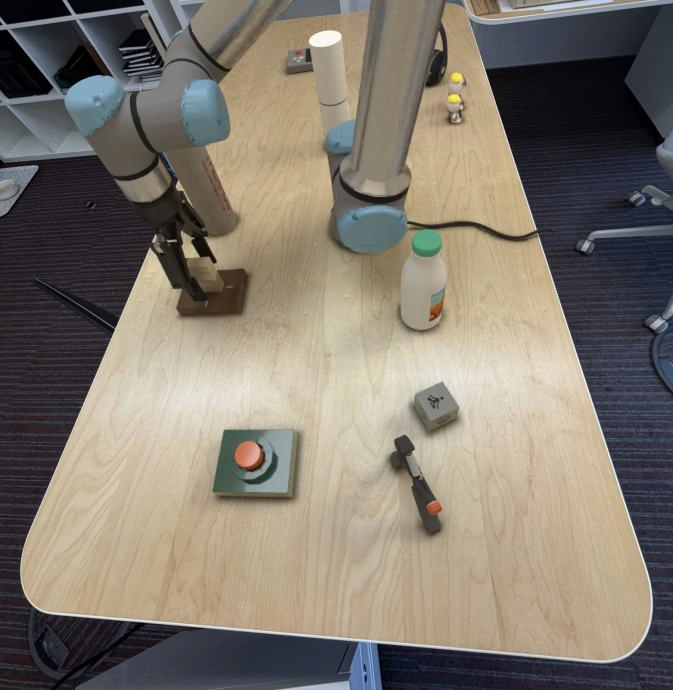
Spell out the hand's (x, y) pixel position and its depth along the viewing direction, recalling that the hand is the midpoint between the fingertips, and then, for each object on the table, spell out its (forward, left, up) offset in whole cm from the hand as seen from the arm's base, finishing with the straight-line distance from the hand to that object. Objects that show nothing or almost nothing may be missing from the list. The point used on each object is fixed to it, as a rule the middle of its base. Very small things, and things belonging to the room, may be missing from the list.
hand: (205, 280), depth 84 cm
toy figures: (-56, -59, -5) cm, 82 cm away
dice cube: (-44, +27, -5) cm, 52 cm away
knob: (0, 0, -2) cm, 2 cm away
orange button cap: (-15, +36, 0) cm, 39 cm away
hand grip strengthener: (-40, +40, -5) cm, 57 cm away
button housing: (-15, +36, -5) cm, 39 cm away
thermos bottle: (+3, -22, -5) cm, 23 cm away
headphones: (-46, -79, -5) cm, 92 cm away
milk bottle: (-43, +7, -5) cm, 44 cm away
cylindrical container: (-25, -49, -5) cm, 55 cm away
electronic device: (-14, -95, -5) cm, 96 cm away
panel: (0, 0, -5) cm, 5 cm away
